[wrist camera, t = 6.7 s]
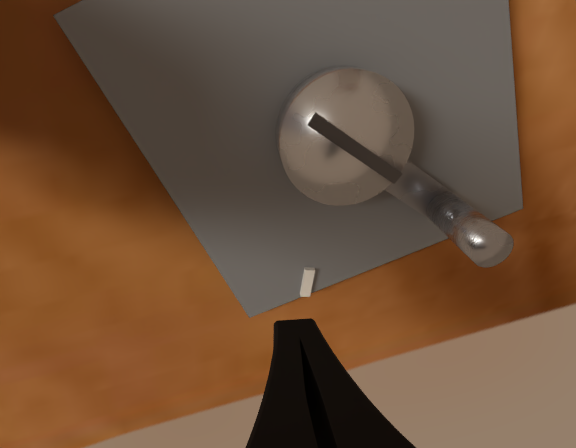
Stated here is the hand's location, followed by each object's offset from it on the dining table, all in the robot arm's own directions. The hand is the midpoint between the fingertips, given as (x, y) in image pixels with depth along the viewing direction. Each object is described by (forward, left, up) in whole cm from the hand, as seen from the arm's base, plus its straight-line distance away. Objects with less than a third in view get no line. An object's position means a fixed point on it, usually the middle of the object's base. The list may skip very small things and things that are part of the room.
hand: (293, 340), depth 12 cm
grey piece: (-2, +6, -8) cm, 10 cm away
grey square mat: (-4, +5, -9) cm, 11 cm away
